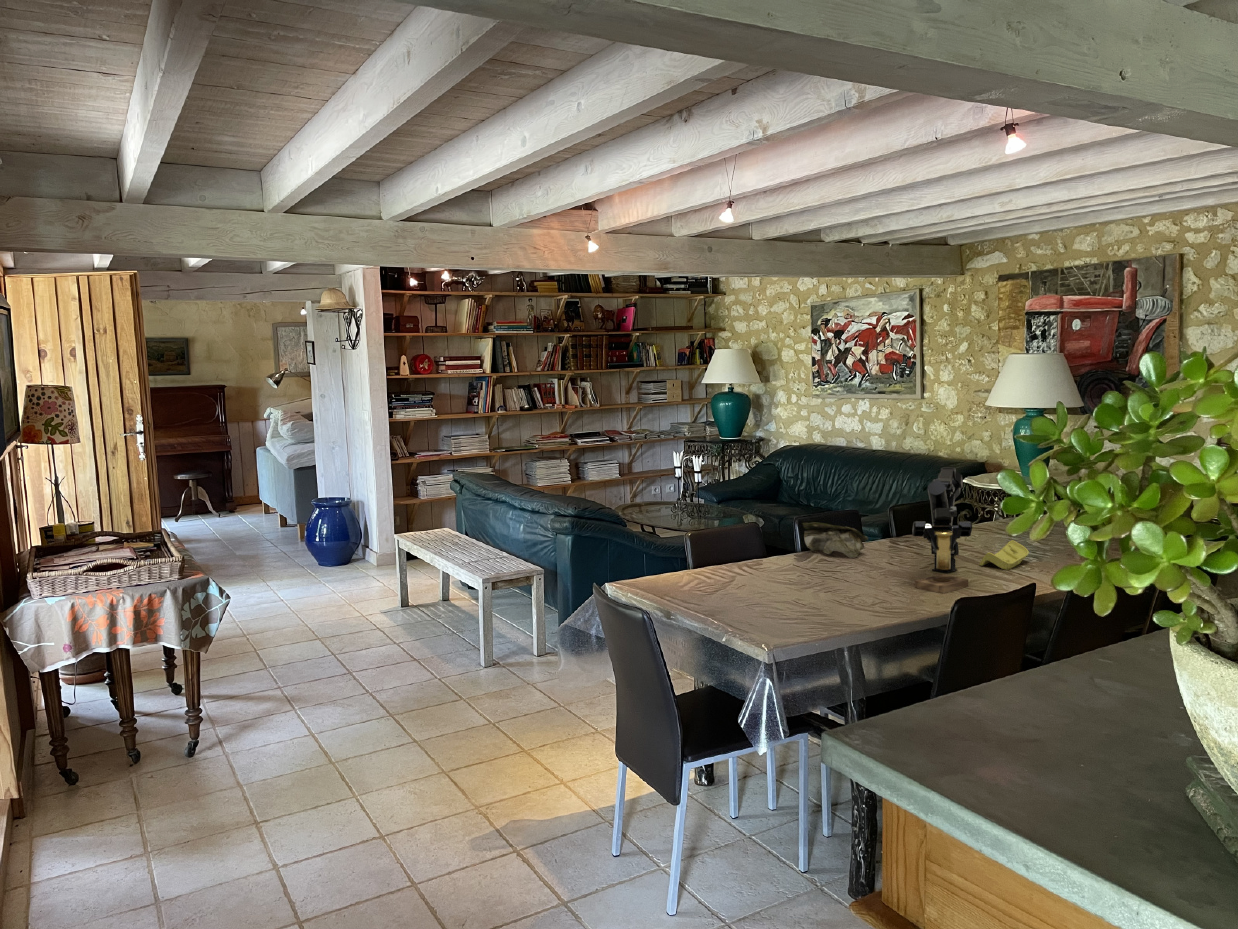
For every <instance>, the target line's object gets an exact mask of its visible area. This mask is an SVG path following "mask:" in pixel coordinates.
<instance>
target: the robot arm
mask: <svg viewBox="0 0 1238 929" xmlns="http://www.w3.org/2000/svg"><path fill="white" fill-rule="evenodd" d="M963 482H964V481H963V475H962V473H960V472H958V471H957V470H956V468H955V467H950V466H949V467H945V466H944V467H941V468H940V472H939V473H938V474H937V478H935V479H934V478H933V480H932V481H931V482H930V483H929V484H928V485H927V494H928V498H929V502H930V511H931V522H932V523H926V521H923V520H922V521H920V520H919V521H918V520H916V521H913V523H912V536H913V537H923V539H926V540H927V541H928V542H929V543H930V548H931V550H930V551H931V552H930V553H931V555H933V556H934V557H933V558H934V559H933V560H934V566H933V567H934V568H931V571H934V572H940V573H945V574H949V573H952V572H957V571H958V568H956V562H957V560H956V558H955V557H956V556H959V555H960V554H959V553H960V552H959V550H960V548H959V542H958V539H961V537H963V538H964V537H965V538H966V537H971V536H972V531H973V523H972V522H971V521H965V520H964V521H961V520H960V521H958V525H953V520H954V518H956V517H957V515H958V512H957V506H955V503H956V501H955V500H956V499H957V498H958V497H959V496H960V494H961V490H962V489H963V488H964V487H963V486H964V485H963V484H964V483H963ZM937 530H949V531H952V532H953V535H951V566H950V569H949V570H940V569H937V535H935V531H937Z"/></svg>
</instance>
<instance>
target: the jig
mask: <svg viewBox="0 0 1238 929" xmlns="http://www.w3.org/2000/svg"><path fill="white" fill-rule="evenodd" d="M914 584H915V585H914V588H915V589H919V590H920V589H921V590H924V591H930V592H934V593H938V594H946V593H947V594H948V593H950V592H954V591H957V590H960V589H961V590H962V589H963V588H968V587H969V579H968V578H963V577H958V576H954V575H953V576H952V575H946V574H941V573H938V574H935V575H931V576H927V577H924V578H921V579H920V578H919V579H916V580H914Z"/></svg>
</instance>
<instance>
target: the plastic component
mask: <svg viewBox="0 0 1238 929" xmlns="http://www.w3.org/2000/svg"><path fill="white" fill-rule="evenodd" d="M1028 555H1029V550H1028V549H1027V548H1026V546H1024V545H1022V544H1021V543H1019V542H1017V541H1016V540H1009V541H1008V542H1007V544H1005V545H1004V546H1003V547H1002V548H1001V549H1000V550H999V551H998V552H996V553H992V552H986V553H985V555H984V556H983V557H982V559H981V560H980V562H979V564H978V565H980V567H981V566H983V567H984V566H985V565H987V564H989V563H992V564H993V565H995V566H997V567H998V568H1001V570H1005V571H1007V570H1011V569H1013V568H1014V567H1017V566H1018V565H1020V564H1021V563H1022V561H1023V560H1025V559H1026V557H1028Z"/></svg>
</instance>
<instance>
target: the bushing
mask: <svg viewBox="0 0 1238 929" xmlns="http://www.w3.org/2000/svg"><path fill="white" fill-rule="evenodd" d="M935 535H937V569H940V570H949V569H950V566H951V535H953V532H952V531H949V530H937V531H935Z"/></svg>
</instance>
